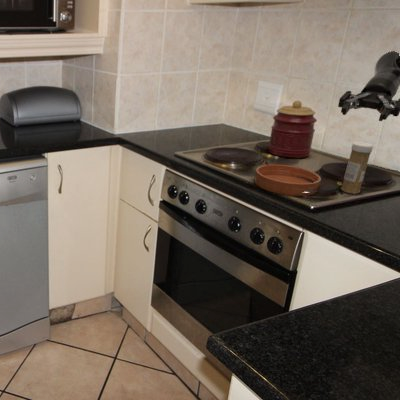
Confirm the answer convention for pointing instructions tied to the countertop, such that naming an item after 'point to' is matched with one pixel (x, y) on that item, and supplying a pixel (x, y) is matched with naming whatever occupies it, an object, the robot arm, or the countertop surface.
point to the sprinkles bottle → (356, 167)
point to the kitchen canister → (292, 131)
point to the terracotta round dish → (286, 180)
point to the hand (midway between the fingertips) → (362, 114)
